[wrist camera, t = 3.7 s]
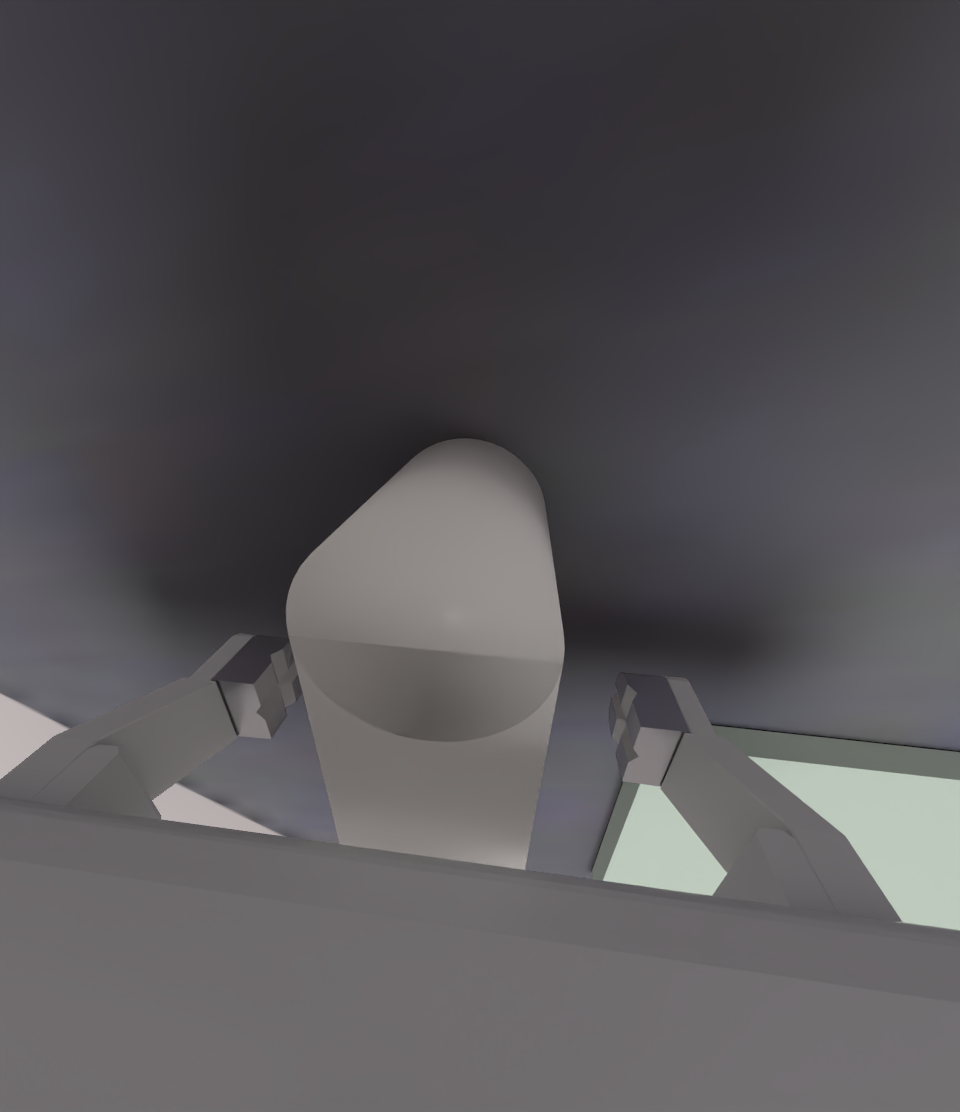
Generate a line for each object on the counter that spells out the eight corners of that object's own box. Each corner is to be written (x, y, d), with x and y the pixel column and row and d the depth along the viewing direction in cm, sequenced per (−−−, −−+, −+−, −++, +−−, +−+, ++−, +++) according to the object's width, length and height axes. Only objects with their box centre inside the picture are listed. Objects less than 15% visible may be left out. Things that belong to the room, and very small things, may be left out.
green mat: (645, 718, 12) (654, 745, 12) (1124, 770, 12) (1174, 804, 11) (591, 871, 17) (595, 899, 16) (929, 918, 16) (952, 950, 15)
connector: (385, 433, 9) (257, 507, 5) (555, 443, 9) (587, 532, 4) (411, 788, 16) (368, 957, 11) (509, 800, 15) (504, 979, 11)
